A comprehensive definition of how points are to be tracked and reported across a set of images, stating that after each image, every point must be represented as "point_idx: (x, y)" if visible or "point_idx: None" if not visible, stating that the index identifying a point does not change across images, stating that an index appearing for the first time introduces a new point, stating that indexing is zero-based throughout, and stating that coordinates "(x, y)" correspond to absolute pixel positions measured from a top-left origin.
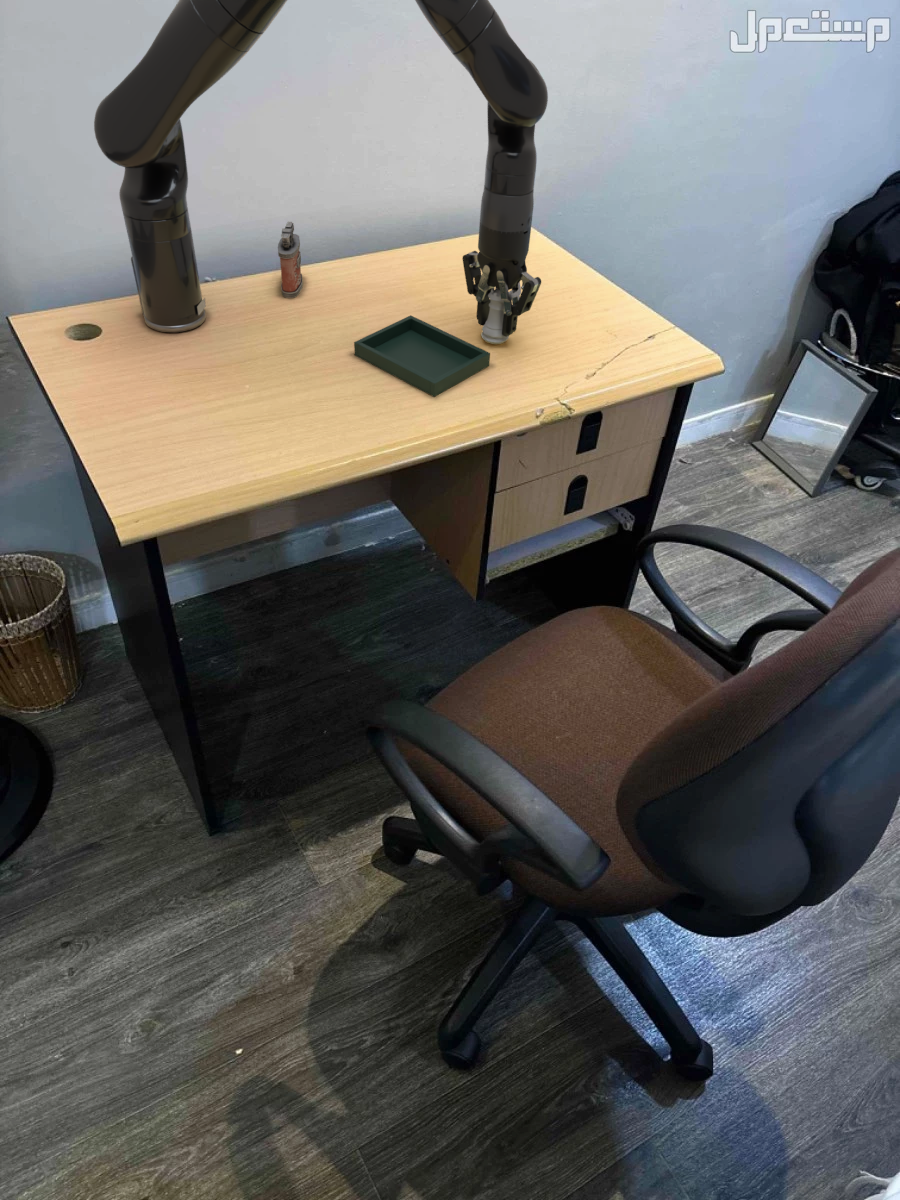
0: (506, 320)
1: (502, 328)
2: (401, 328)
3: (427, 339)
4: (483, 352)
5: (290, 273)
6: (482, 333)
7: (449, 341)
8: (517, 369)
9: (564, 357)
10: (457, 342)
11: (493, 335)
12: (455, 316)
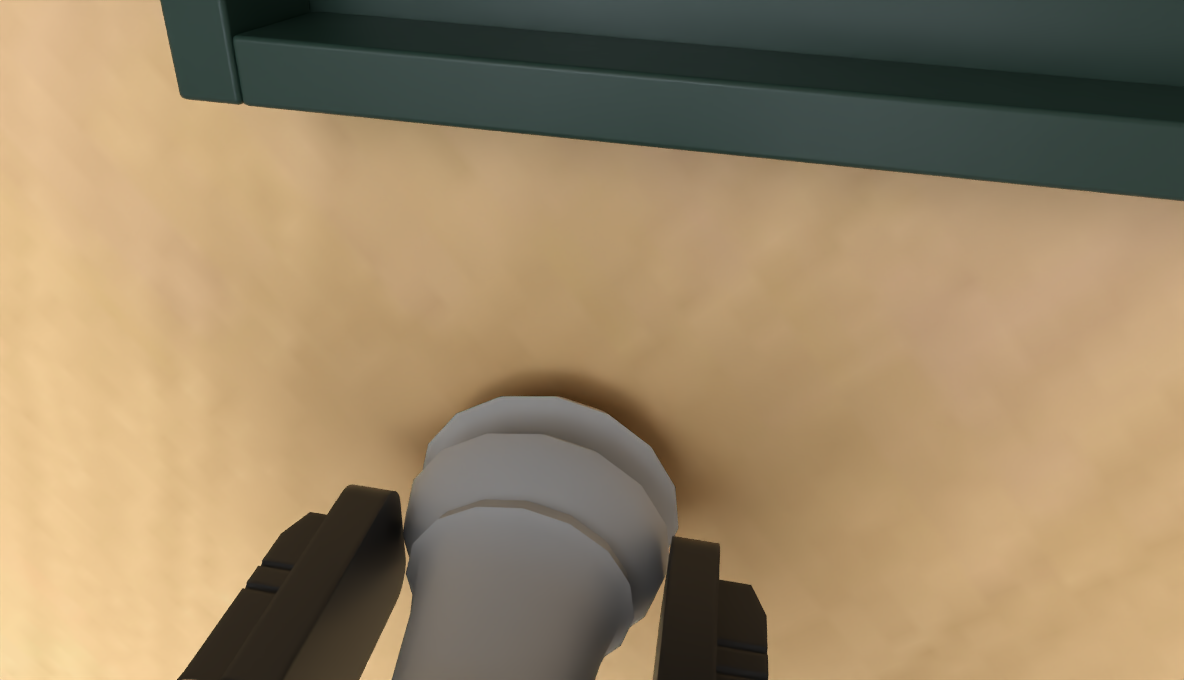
0: (258, 620)
1: (360, 537)
2: None
3: None
4: (233, 49)
5: None
6: (643, 466)
7: (831, 73)
8: (87, 195)
9: (69, 535)
10: (685, 71)
11: (466, 450)
12: (1096, 620)
